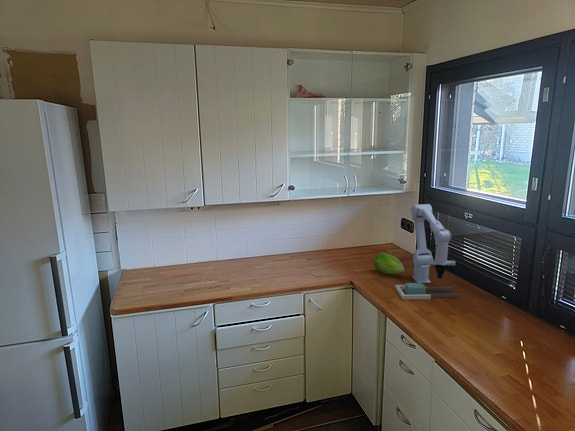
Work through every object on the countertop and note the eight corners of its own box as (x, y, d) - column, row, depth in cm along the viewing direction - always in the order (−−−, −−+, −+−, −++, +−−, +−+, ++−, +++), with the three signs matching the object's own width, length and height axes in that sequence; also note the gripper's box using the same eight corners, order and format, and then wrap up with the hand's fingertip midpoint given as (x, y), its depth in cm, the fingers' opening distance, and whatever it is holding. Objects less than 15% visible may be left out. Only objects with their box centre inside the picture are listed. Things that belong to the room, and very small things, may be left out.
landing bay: (395, 288, 209) (395, 284, 208) (421, 288, 209) (421, 284, 208) (402, 299, 195) (402, 295, 195) (430, 299, 195) (430, 295, 195)
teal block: (404, 291, 205) (405, 283, 204) (421, 291, 205) (422, 283, 203) (408, 296, 199) (408, 287, 198) (425, 296, 199) (426, 287, 198)
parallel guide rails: (424, 289, 206) (424, 287, 206) (451, 289, 206) (452, 287, 206) (430, 297, 197) (430, 294, 197) (459, 297, 197) (459, 294, 197)
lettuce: (393, 282, 217) (394, 262, 215) (369, 271, 234) (369, 253, 231) (410, 277, 225) (411, 257, 222) (385, 267, 241) (385, 249, 239)
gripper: (430, 256, 193) (428, 281, 196) (458, 255, 193) (456, 280, 196) (425, 251, 200) (423, 275, 203) (453, 251, 200) (451, 275, 203)
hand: (439, 278), depth 200 cm, fingers closed
